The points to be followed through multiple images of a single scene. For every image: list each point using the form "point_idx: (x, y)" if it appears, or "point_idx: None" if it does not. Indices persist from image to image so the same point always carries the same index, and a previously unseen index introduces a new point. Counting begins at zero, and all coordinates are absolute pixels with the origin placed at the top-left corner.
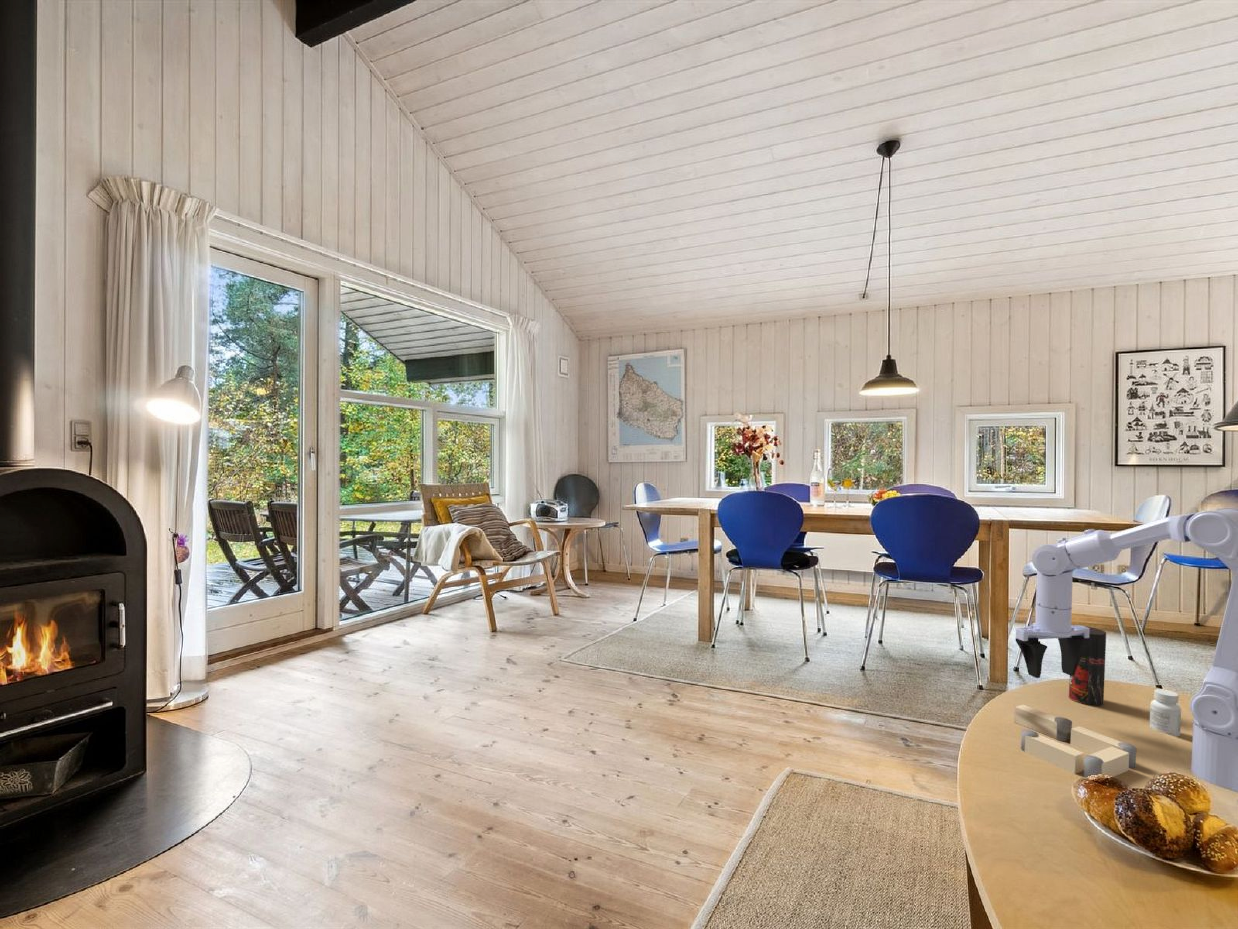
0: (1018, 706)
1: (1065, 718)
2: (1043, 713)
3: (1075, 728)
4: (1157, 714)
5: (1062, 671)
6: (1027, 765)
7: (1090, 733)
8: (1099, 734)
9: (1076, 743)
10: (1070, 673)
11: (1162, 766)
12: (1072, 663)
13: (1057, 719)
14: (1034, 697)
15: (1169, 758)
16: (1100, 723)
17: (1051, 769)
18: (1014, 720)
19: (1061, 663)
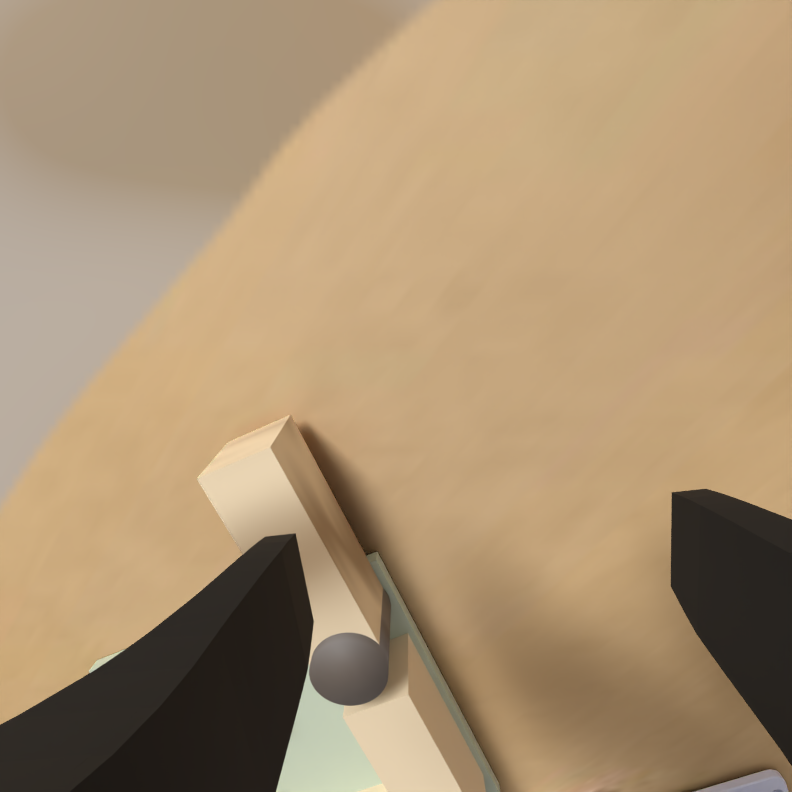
0: (222, 476)
1: (377, 656)
2: (317, 566)
3: (369, 714)
4: None
5: (677, 493)
6: None
7: (403, 758)
8: (438, 769)
9: None
10: (682, 589)
11: (610, 761)
12: (756, 687)
13: (321, 667)
14: (653, 9)
15: (704, 715)
16: (729, 414)
17: None
18: (226, 445)
19: (727, 516)
